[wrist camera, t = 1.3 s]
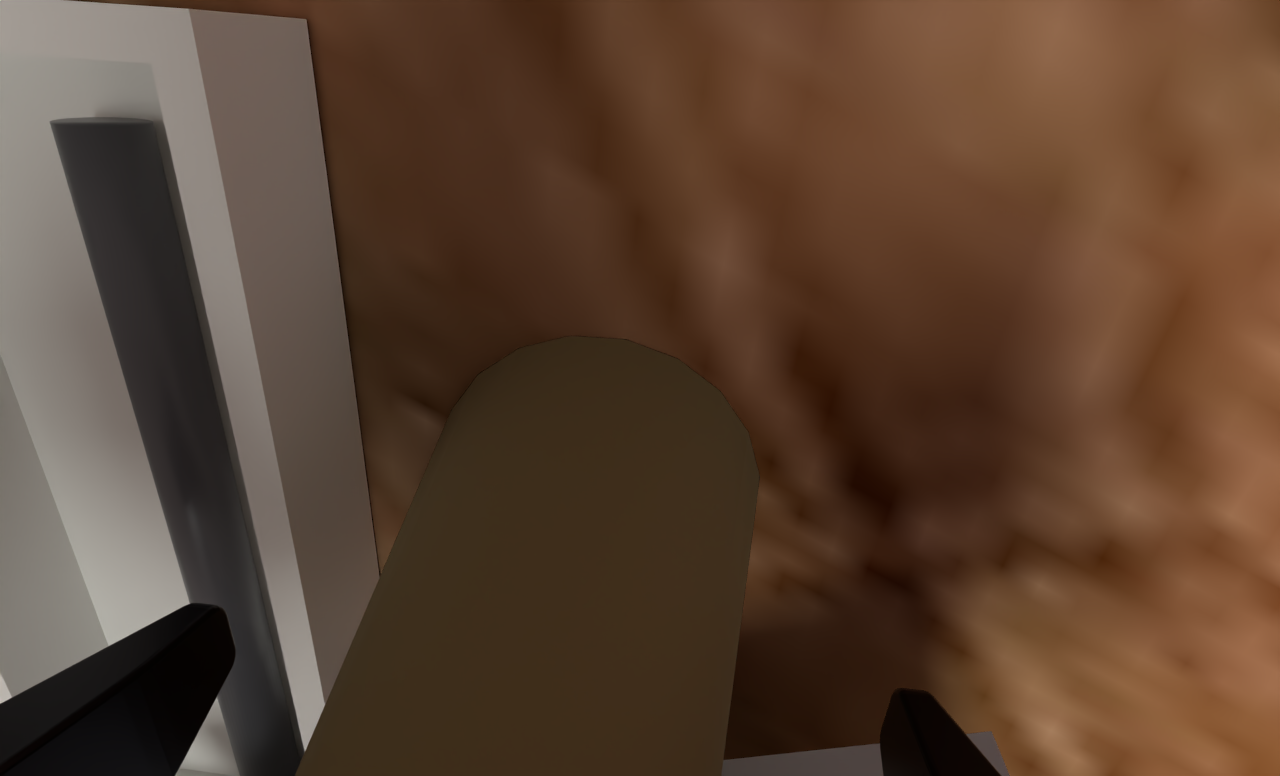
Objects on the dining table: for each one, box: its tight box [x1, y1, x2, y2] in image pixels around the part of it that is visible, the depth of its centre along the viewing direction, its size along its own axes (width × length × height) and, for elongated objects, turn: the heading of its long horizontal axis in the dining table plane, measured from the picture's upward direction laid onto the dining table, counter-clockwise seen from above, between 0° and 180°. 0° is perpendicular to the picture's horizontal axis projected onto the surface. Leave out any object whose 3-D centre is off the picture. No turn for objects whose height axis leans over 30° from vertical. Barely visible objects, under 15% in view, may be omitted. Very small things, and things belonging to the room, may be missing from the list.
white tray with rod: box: [0, 0, 380, 776], centre depth 13 cm, size 19×7×2 cm, turn 177°
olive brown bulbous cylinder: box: [295, 336, 760, 776], centre depth 8 cm, size 6×6×11 cm
